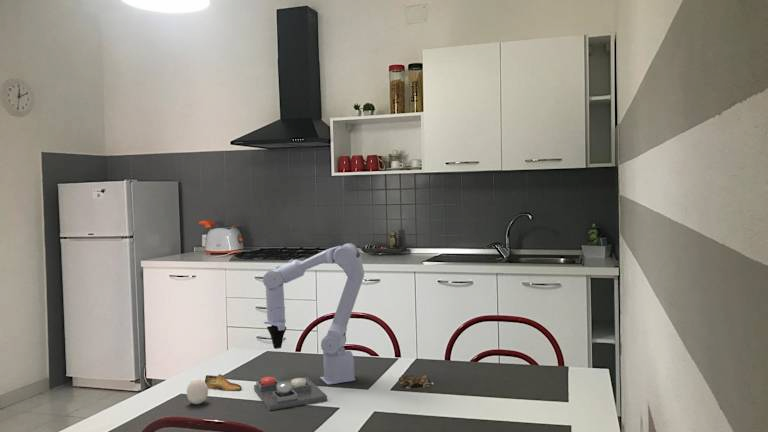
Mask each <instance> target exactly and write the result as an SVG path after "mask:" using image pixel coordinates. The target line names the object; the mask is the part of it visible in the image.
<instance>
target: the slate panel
mask: <svg viewBox="0 0 768 432" xmlns="http://www.w3.org/2000/svg"><path fill="white" fill-rule="evenodd" d="M301 378H304V379H306V385H304V386H298V387H292V393H291V394H288V395H278V394H277V384H278V383H281V382H291V380H292V379H293V378H291V379H290V378H289V379H283V380H277V379H276V378H275V384H271V385H265V386H261V380H257V381H256V382H255V383H256V384H254V385H253V390H254V392H255V393H256V394H257V396H258V397H259V399H260V400H261V401H262V402H263V404H264V406H265V407H266V406H267V407H266V408H267V409H268V411H269V410H271V411H274V410H275V411H276V410H282V409H286V408H287V407H288V408H293V406H294V407H298V406H305V405H310V404H316V403H321V402H327V401H328V395H327V394H326V393H325V392H323V391H322V390H321V388H319V387H318V385H316V384H315V383H314V382H313V381H312V380H311V379H310V378H309V377H308V376H303V377H301ZM281 408H282V409H281Z"/></svg>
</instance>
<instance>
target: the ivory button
mask: <svg viewBox="0 0 768 432" xmlns="http://www.w3.org/2000/svg"><path fill="white" fill-rule="evenodd" d="M291 379H292V380H291V383H292V387H298V386H304V385H306V379H304V378H302V377H297V378H296V377H295V378H291Z"/></svg>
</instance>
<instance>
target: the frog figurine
mask: <svg viewBox="0 0 768 432" xmlns="http://www.w3.org/2000/svg"><path fill="white" fill-rule="evenodd" d="M427 377H428V376H427V375H425V374H424V375H423V376H420V377H417V376H416V375H413V374H411V375H403V374H402V375H401V376H399V377H398V380H399V383H400V385H407V386H405V389H406V390H408V389H412V387H413V386H414V387H417V386H418V387H420V386H421V385H422V388H429V387H430V385H429V384H430V382H428V381H429V380H428V379H427ZM431 384H432V385H434V381H432V382H431Z"/></svg>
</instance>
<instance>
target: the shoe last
mask: <svg viewBox="0 0 768 432" xmlns="http://www.w3.org/2000/svg"><path fill="white" fill-rule="evenodd" d="M204 382H205V383H206V385H207V387H208V389H220V390H222V389H223V391H225V392H226V391H227V392H236V391H241V390H242V388H243V387H242V385H240V384H238V383H235V382H230V381H229V380H228V379H227V378H225V377H224V376H223V375H222V373H219V374H218V375H210V374H209V375H206V376H205V379H204Z"/></svg>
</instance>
